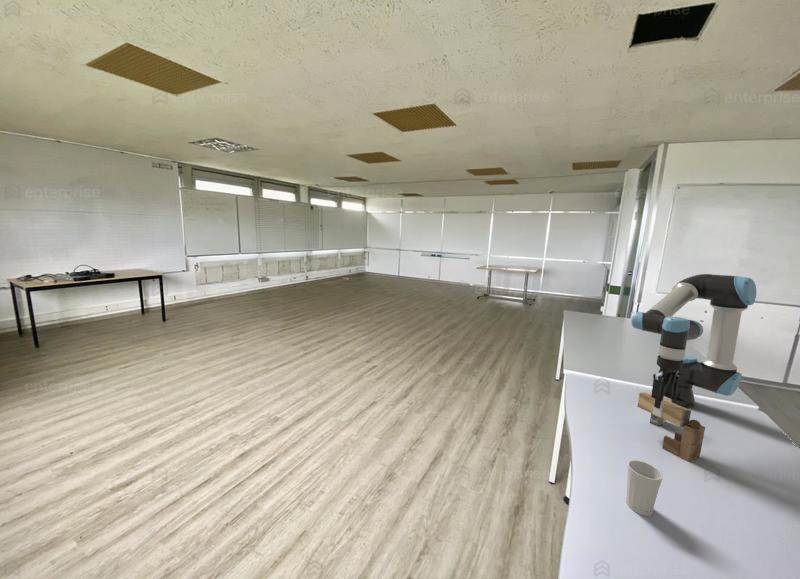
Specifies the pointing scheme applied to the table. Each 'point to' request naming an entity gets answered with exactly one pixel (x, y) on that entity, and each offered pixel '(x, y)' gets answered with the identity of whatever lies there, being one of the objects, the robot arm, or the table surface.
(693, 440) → the brown domed block
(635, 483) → the cup
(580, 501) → the table surface
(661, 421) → the ink box
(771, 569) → the table surface
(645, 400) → the rail
